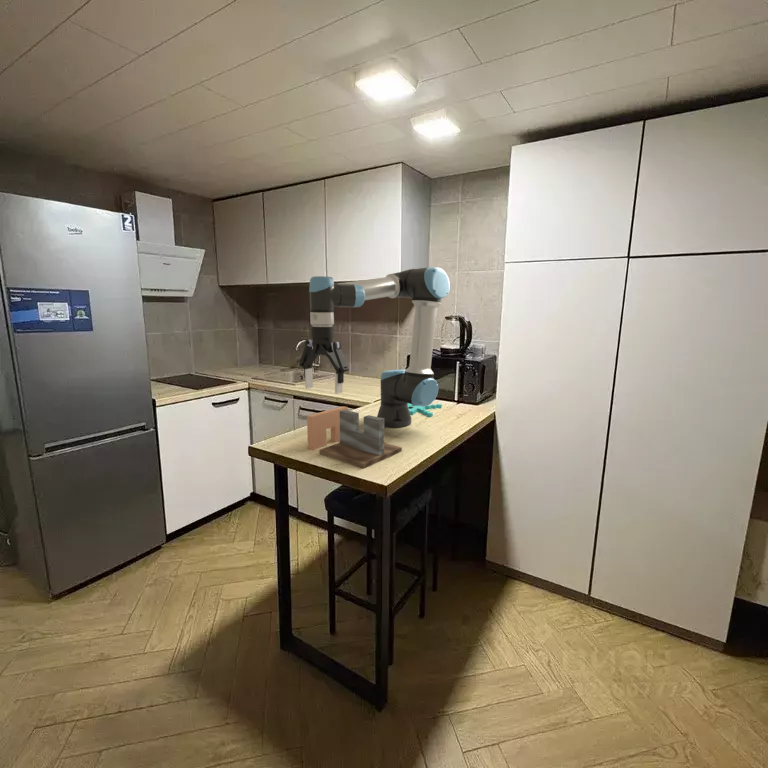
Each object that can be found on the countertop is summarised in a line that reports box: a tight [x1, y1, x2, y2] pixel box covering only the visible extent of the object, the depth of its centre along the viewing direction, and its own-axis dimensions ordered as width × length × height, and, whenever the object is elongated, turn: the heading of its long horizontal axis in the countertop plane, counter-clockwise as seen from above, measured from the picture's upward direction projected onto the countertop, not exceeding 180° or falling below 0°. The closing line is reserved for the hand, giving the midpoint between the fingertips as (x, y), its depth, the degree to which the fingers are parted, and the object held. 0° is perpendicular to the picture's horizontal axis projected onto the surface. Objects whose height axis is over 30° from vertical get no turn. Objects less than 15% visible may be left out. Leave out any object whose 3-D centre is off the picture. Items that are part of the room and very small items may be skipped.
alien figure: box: [408, 403, 443, 418], centre depth 203 cm, size 20×2×20 cm
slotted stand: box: [319, 409, 403, 469], centre depth 143 cm, size 20×20×14 cm
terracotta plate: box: [306, 406, 349, 451], centre depth 153 cm, size 18×2×12 cm, turn 141°
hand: (323, 390), depth 139 cm, fingers open, 13 cm apart
